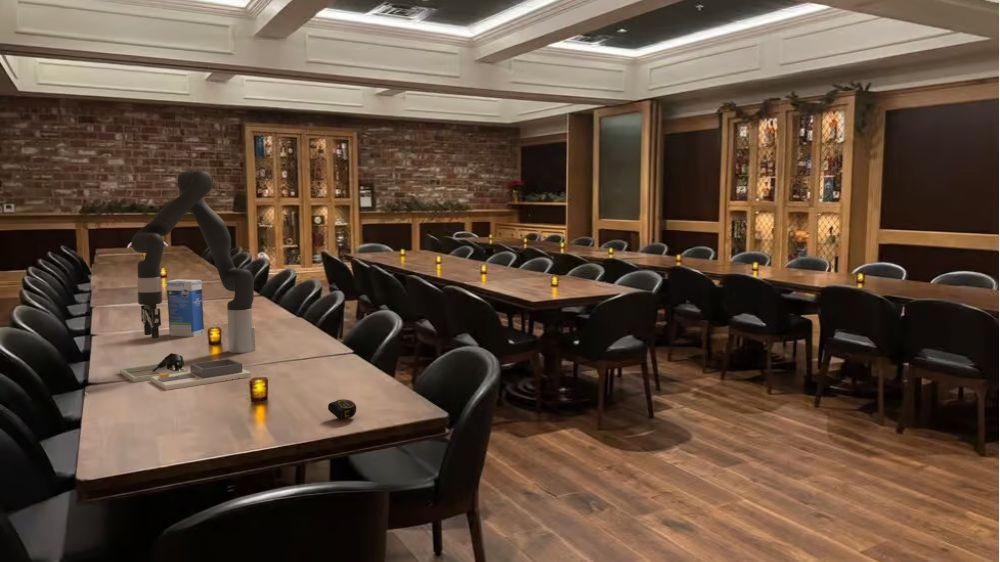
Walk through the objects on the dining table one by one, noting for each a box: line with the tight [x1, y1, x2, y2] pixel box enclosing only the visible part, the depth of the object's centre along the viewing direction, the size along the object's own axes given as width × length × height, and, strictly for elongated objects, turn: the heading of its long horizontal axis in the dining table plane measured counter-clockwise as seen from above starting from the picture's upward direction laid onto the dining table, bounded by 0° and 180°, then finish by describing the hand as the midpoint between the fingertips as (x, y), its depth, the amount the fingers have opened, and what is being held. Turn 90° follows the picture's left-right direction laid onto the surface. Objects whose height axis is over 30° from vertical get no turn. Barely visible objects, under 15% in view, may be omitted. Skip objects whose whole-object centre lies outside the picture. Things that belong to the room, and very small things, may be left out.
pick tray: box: [119, 363, 189, 383], centre depth 258 cm, size 18×18×2 cm
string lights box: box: [166, 279, 205, 338], centre depth 328 cm, size 13×8×26 cm, turn 74°
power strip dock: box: [150, 358, 252, 391], centre depth 250 cm, size 28×16×4 cm, turn 131°
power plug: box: [152, 352, 185, 372], centre depth 258 cm, size 6×8×12 cm
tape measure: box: [327, 398, 357, 420], centre depth 204 cm, size 7×7×4 cm
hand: (151, 336), depth 256 cm, fingers open, 8 cm apart
